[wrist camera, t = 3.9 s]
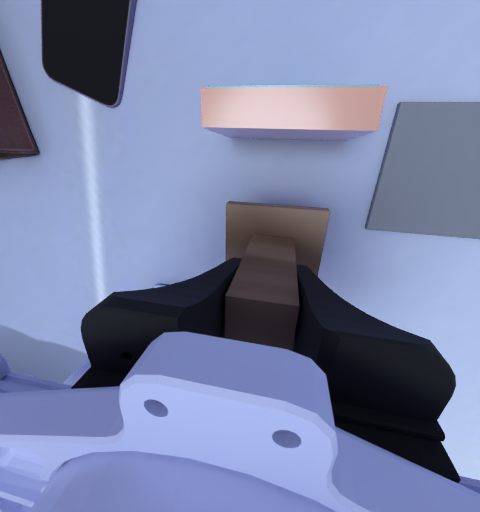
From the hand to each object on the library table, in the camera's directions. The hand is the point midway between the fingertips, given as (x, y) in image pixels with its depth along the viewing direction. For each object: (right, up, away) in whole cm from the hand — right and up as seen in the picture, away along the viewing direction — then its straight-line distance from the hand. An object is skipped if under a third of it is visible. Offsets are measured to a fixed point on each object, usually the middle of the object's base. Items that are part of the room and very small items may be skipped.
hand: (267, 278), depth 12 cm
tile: (+2, +11, +6) cm, 13 cm away
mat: (+14, +7, +5) cm, 17 cm away
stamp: (+1, +2, +3) cm, 4 cm away
